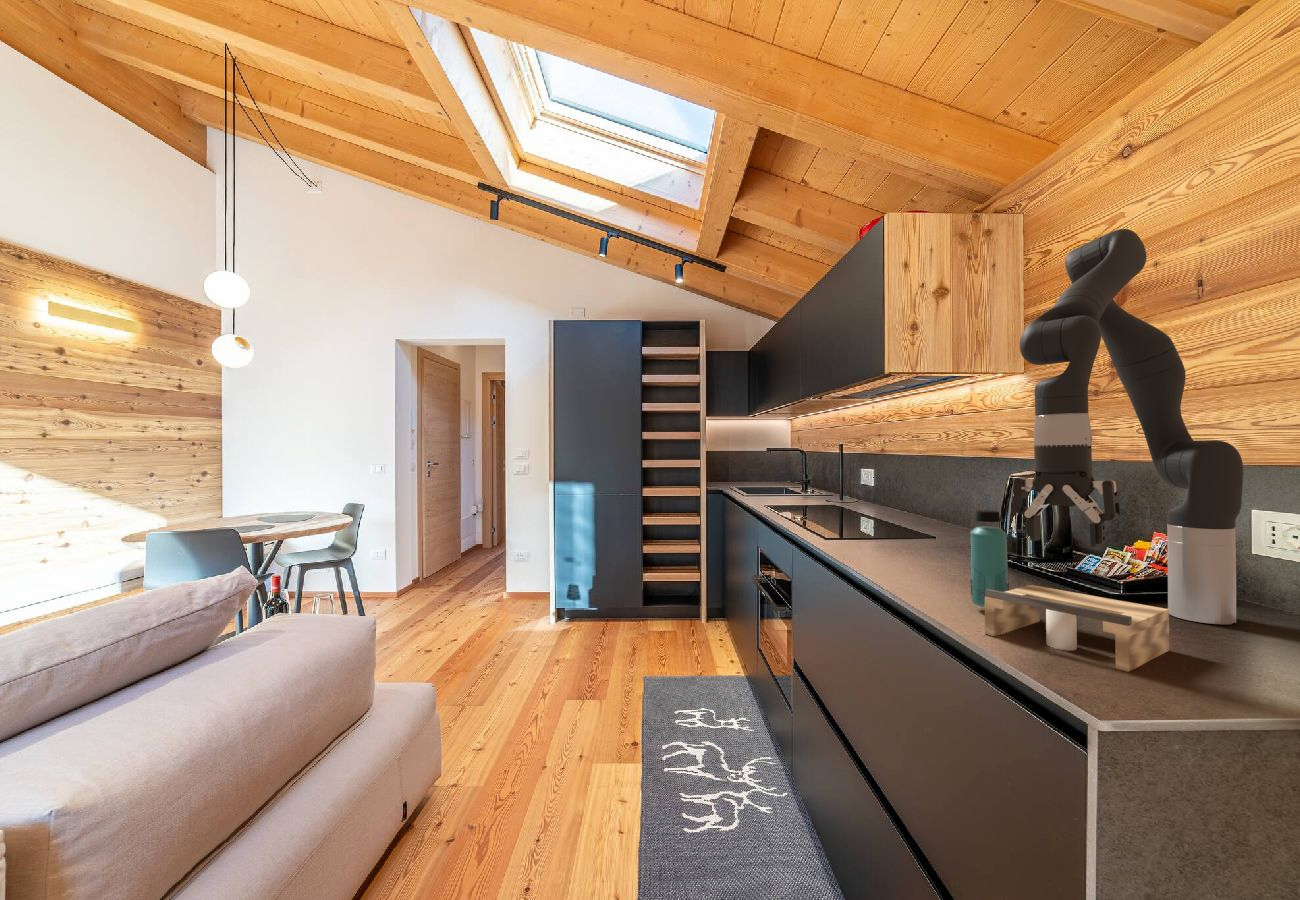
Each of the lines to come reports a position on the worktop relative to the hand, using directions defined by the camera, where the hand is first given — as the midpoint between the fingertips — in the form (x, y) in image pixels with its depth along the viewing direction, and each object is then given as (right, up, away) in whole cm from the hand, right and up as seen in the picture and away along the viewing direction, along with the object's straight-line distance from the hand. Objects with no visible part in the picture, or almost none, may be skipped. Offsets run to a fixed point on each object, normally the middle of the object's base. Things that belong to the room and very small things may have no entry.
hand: (1064, 543), depth 92 cm
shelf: (+3, -17, +2) cm, 17 cm away
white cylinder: (0, -17, +1) cm, 17 cm away
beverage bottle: (0, -17, +20) cm, 27 cm away
